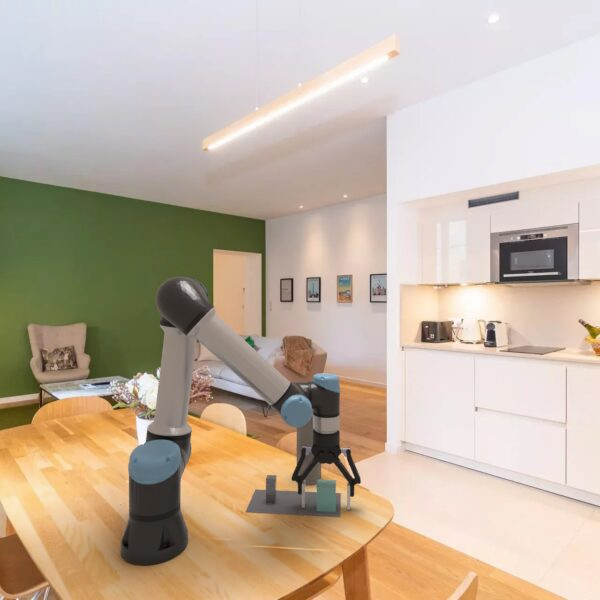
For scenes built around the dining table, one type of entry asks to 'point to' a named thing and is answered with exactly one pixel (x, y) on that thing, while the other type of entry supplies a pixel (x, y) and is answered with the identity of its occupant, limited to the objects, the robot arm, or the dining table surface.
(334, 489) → the teal rectangular block
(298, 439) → the thermos bottle
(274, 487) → the post
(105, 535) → the dining table surface
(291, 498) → the mat
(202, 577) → the dining table surface
